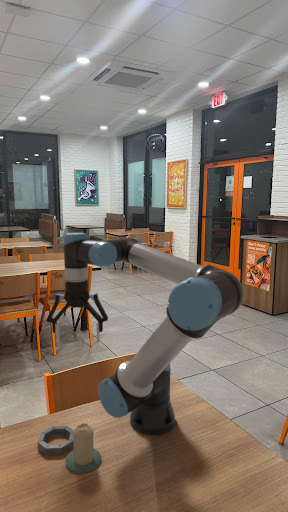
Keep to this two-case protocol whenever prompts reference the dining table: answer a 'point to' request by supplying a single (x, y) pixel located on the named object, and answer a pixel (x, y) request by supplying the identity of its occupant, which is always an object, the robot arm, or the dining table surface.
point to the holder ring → (56, 448)
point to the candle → (83, 444)
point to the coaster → (82, 468)
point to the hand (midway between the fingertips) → (78, 341)
